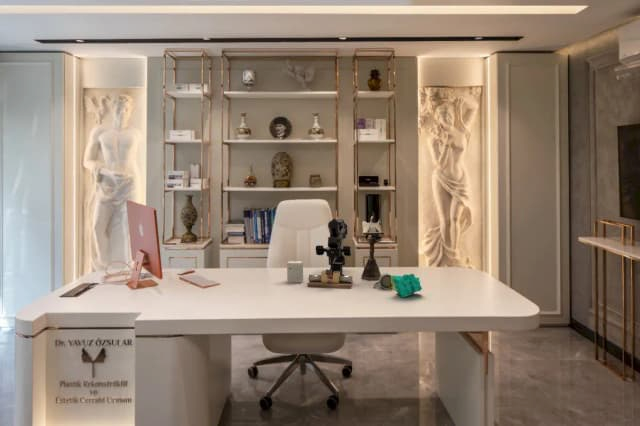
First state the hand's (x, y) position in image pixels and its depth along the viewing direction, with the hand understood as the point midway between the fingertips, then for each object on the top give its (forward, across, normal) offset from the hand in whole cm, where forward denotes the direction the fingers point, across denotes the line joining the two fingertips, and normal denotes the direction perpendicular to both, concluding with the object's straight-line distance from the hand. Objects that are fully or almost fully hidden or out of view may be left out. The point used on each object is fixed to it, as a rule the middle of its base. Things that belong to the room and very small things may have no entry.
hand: (331, 263), depth 257 cm
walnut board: (+11, 0, +3) cm, 12 cm away
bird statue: (-2, +21, +17) cm, 27 cm away
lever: (+8, 0, +1) cm, 8 cm away
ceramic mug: (+12, +27, +3) cm, 30 cm away
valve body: (+10, 0, +2) cm, 10 cm away
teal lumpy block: (+23, +38, -8) cm, 45 cm away
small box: (+7, -20, +8) cm, 22 cm away
